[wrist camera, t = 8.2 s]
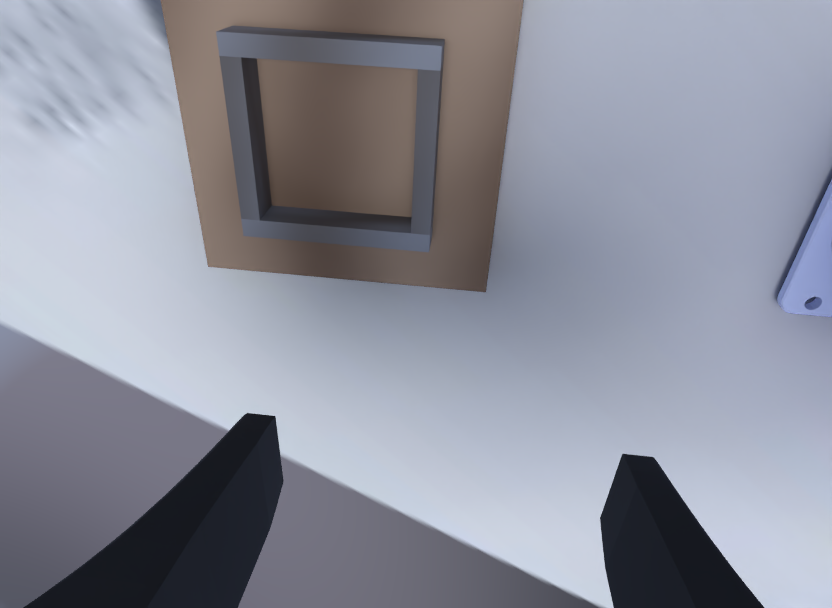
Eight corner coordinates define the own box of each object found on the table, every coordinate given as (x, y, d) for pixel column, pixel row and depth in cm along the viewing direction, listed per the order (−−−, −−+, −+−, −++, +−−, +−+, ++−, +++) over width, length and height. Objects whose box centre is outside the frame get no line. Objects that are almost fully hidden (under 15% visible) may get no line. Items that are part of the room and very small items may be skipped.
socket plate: (526, -44, 15) (531, -41, 14) (485, 277, 21) (485, 310, 19) (167, -63, 16) (125, -62, 14) (218, 253, 21) (193, 283, 20)
